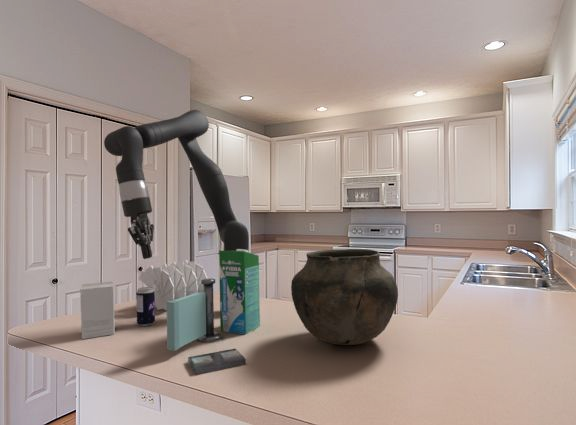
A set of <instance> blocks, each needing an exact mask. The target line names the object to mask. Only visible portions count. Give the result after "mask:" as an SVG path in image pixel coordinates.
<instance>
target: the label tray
mask: <svg viewBox="0 0 576 425" xmlns="http://www.w3.org/2000/svg"><path fill="white" fill-rule="evenodd" d="M187 362H188V364H189V367H190V368H191V369H192V371H193V373H194V374H195V376H196V375H200V374H204V373H211V372H213V371H214V372H215V371H219V370H224V369H228V368H234V367H239V366H243V365H246V364H247V358H246V357H245V356H243V354H242V353H241V352H240V351H239V350H238V349H237V348H231V349H225V350H220V351H213V352H208V353H203V354H198V355H193V356H188V357H187Z"/></svg>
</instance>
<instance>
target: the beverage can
mask: <svg viewBox="0 0 576 425" xmlns="http://www.w3.org/2000/svg"><path fill="white" fill-rule="evenodd" d="M135 296H136V298H135V300H136V303H135V304H136V305H135V306H136V324H137V325H138V326H139V325H140V326H139V327H149V326H148V325H150V326H152V325H153V324H154V323H155V322H156V314H155V313H156V306H155V291H154V289H153V287H148V286H144V287H143V286H142V287H138V288H137V291H136V292H135Z"/></svg>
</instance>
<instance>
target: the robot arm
mask: <svg viewBox="0 0 576 425" xmlns="http://www.w3.org/2000/svg"><path fill="white" fill-rule="evenodd" d="M209 126H210V125H209V120H208V118H207V116H206V114H205V113H204V112H202V111H200V110H198V109H192V110H189V111H187V112H184V113H183V114H181V115H179V116H177V117H173V118H170V119H165V120H164V119H163V120H160V121H159V120H158V121H153V122H149V123H148V122H147V123H143V124H140V125H137V126H134V127H133V126H131V125H127V126H123V127H120V128H118V129H116V130H113V131H111V132H110V133H108V134H106V136H105V137H104V141H103V145H104V149H106V151H107V152H108V153H109V154H111V155H112V156H116V157H121V160H120V161H119V163H118V164H117V165H116V166H115V173H116V178H117V183H118V192H119V196H120V197H119V198H120V202H121V207H122V212H123V217H125V218H130V219H129V220H130V225H131V226H130V227H127V232H128V233H129V235H130V237H131V238H132V240H133V242H134V244H135V245H138V246H139V247H140V251H141V256H142V259H144V260H147V259H151V258H153V251H152V247H151V244H152V242H153V241H154V230H155V225H154V223H152V224H151V220H150V219H149V216H148V214H151V213H152V212H153V208H152V202H151V198H150V193H149V189H148V186H147V183H146V179H145V175H144V174H145V173H144V170H143V160H144V158H143V157H144V149H149V148H152V147H157V146H160V145H163V144H166V143H168V142H170V141H173V140H175V139H178V142H180V144H181V147H182V149H183V150H184V153H185V154H186V155H187V158H188V160H189V162H190V165H191V167H192V170H193V171H194V174H195V176H196V179H197V182H198V185H199V187H200V189H201V191H202V194H203V196H204V198H205V200H206V203H207V205H208V207H209V209H210V211H211V213H212V215H213V218H214V220H215V225H216V227H217V231H218V235H219V237H220V240H221V242H222V244H223V251H236V249H244V250H248V253H250V252H249V249H250V248H249V246H250V245H249V244H250V243H249V242H250V234H249V230H248V228H247V226H246V225H245V224H244V223H242V222H239V221H238V219H237V218H236V216H235V214H234V211H233V209H232V206H231V201H230V194H229V193H230V192H229V189H228V185H227V182H226V179H225V177H224V175H223V172H222V169H221V168H220V166H218V164H217V163H215V161H213V160H212V158H210V157H208V156H207V155H206V154H205V153H204V152H203V150H202V148H201V147H200V144H199V142H198V140H197V138H199V137H201V136H203V135H204V134H206V133H207V131H208V130H209Z"/></svg>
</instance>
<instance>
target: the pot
mask: <svg viewBox="0 0 576 425" xmlns="http://www.w3.org/2000/svg"><path fill="white" fill-rule="evenodd" d="M306 259H307V260H306V261H305V264H304V266H303V267H302V269H300V270H299V271H298V272H297V273H296V274H295V275H294V276H293V277H292V280H291V287H290V288H291V289H290V290H291V298H292V302H293V305H294V309H295V311H296V313H297V315H298V317H299V320H300V321H301V323H302V324H303V326H304V328H305V329H306V330H307V331H308V332H309V333H310V335H312V336H313V337H315V338H316V339H318V340H320V341H323V342H324V343H328V344H332V345H339V346H352V345H361V344H364V343H367V342H369V341H371V340H374V339H376V338H377V337H378V336H379V335H381V333H383V332H384V331H385V330H386V328H387V326H388V324H389V323H390V322H391V318H392V316H393V314H394V313H395V310H396V307H397V304H398V297H399V291H398V290H399V289H398V284H397V282H396V279H395V277H394V275H393V274H392V273H391V272H390V271H388V270H387V269H386V268H385V267H383V266H382V264H381V261H380V252H379V251H378V250H373V249H367V248H343V249H339V248H337V249H325V250H324V249H323V250H316V251H311V252H309V251H308V252H306Z"/></svg>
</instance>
